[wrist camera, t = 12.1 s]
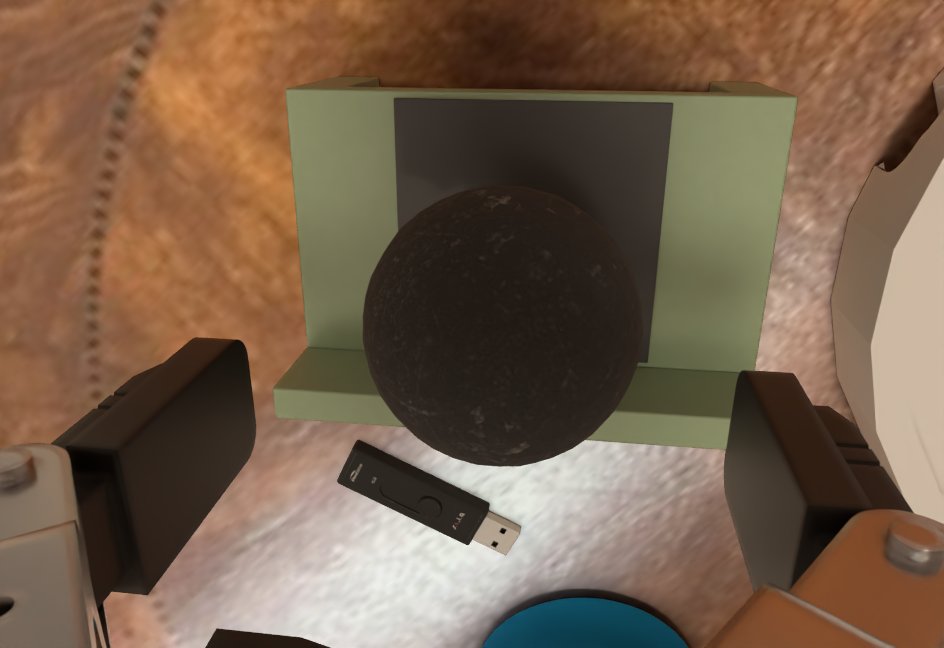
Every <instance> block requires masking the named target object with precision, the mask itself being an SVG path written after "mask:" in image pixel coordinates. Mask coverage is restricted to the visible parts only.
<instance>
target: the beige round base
mask: <svg viewBox="0 0 944 648" xmlns="http://www.w3.org/2000/svg"><path fill="white" fill-rule="evenodd" d="M933 87H934V93H935V98H936V104H937V110H938V115H939V116H938V117H937V119H936V120H935V121H934V122H933V124H932V125H931V126H930V127H929V129H928V130H927V131H926V132H925V133H924V134H923V135H922V136H921V137H920V139H919V140H918V142H917V143H916V144H915V146H914V147H913V149H912V150H911V152H910V153H909V154H908V155H907V157H906V158H905V159H904V161H903V162H902V163H901V164H900V165H899V166H898V167H897V168H895V169H894V170H892V171H891V172H886V171H885V166H884V162H883V163H882V164H880V165H879V166H874V168H873V169H872V171H871V173H870V175H869V177H868V179H867V181H866V183H865V185H864V187H863V189H862V191H861V193H860V195H859V197H858V199H857V201H856V203H855V205H854V207H853V209H852V211H851V213H850V215H849V217H848V222H847V227H846V231H845V236H844V241H843V245H842V250H841V255H840V259H839V264H838V269H837V273H836V278H835V283H834V287H833V292H832V297H831V310H832V322H833V334H834V345H835V357H836V369H837V378H838V380H839V382H840V385H841V387H842V389H843V392H844V394H845V396H846V399H847V401H848V403H849V406H850V408H851V411H852V413H853V415H854V418H855V420H856V422H857V425H858V427H859V429H860V432H861V434H862V436H863V437H864V439H865V440H866V442H867V443H868V445H869V449H872V451H873V452H874V454H875V455H876V457H877V458H878V460H879V461H880V465H881V466H883V467H884V469H885V470H886V472H887V473H888V475H889V476H890V478H891V479H892V481H893V482H894V484H895V485H896V487H897V488H898V490H899V491H900V493H901V494H902V496H903V497H904V499H905V500H906V502H907V503H908V505H909V506H910V508H911V509H912V511H913V512H914V513H915V514H918V515H922V516H925V517H928V518H930V519H933V520H936V521H938V522H940V523H942V524H944V69H943V70H942V71H941V72H940V74H939V75H938V76H937V77H936V78H935V80H934V81H933Z"/></svg>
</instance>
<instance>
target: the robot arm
mask: <svg viewBox="0 0 944 648" xmlns="http://www.w3.org/2000/svg"><path fill="white" fill-rule="evenodd" d="M255 437H256V419H255V411H254V403H253V394H252V386H251V378H250V370H249V361H248V354H247V350H246V347H245V345H244V344H243V342H242V341H240V340H233V339H215V338H198V337H196V338H193V339H192V340H190V341H189V342H188V343H187V344H186V345H184V346H183V347H182V348H181V349H180V350H178V351H177V352H176V353H175V354H174V355H172V356H171V357H170V358H169V359H168V360H166V361H165V362H164V363H162V364H160V365H158V366H155V367H153V368H151V369H149V370H147V371H144V372H142V373H140V374H138V375H136V376H133V377H132V378H131V379H130V380H129V381H127V382H126V383H125V384H124V385H122V386H121V387H120V388H119V389H117V390H116V391H115V392H114V396H112V395H110V396H109V397H108V398H106V399H105V400H104V401H103V402H101V403H100V404H99V405H98V409H93V410H92V411H90V412H89V413H88V414H87V415H85V416H84V417H83V418H82V419H81V420H79V421H78V422H77V423H76V424H74V425H73V426H72V427H71V428H69V429H68V430H67V431H66V432H65V433H63V434H62V435H61V436H60V437H58V438H57V439H56V440H55V441H53V442H52V443H51V444H45V443H29V444H21V445H15V446H10V447H6V448H2V449H0V648H112V643H111V637H110V631H109V625H108V619H107V615H106V611H105V606H104V602H103V601H104V600H105V599H106V598H107V597H108V595H109V594H110V593H111V592H122V593H131V594H141V595H148V594H149V593H150V591H151V590H152V589H153V587H154V586H155V585H156V583H157V582H158V581H159V579H160V578H161V577H162V575H163V574H164V573H165V571H166V570H167V569H168V567H169V566H170V565H171V563H172V562H173V561H174V559H175V558H176V556H177V555H178V554H179V552H180V551H181V550H182V548H183V547H184V546H185V544H186V543H187V542H188V540H189V539H190V538H191V536H192V535H193V534H194V532H195V531H196V530H197V528H198V527H199V526H200V524H201V523H202V521H203V520H204V519H205V517H206V516H207V515H208V513H209V512H210V511H211V509H212V508H213V507H214V505H215V504H216V503H217V501H218V500H219V499H220V497H221V496H222V495H223V493H224V492H225V491H226V489H227V488H228V487H229V485H230V484H231V482H232V481H233V480H234V478H235V477H236V476H237V474H238V473H239V472H240V470H241V469H242V468H243V466H244V465H245V464H246V462H247V461H248V459H249V458H250V456H251V453H252V451H253V447H254V443H255ZM724 488H725V495H726V500H727V503H728V506H729V510H730V513H731V516H732V520H733V523H734V526H735V530H736V533H737V536H738V540H739V543H740V546H741V550H742V553H743V556H744V560H745V563H746V566H747V570H748V573H749V576H750V580H751V583H752V586H753V590H754V594H753V595H752V596H751V597H750V598H749V599H748V601H747V602H746V603H745V604H744V605H743V606H742V607H741V608H740V609H739V610H738V612H737V613H736V614H735V615H734V616H733V617H732V618H731V619H730V620H729V621H728V622H727V624H726V625H725V626H724V627H723V628H722V629H721V630H720V631H719V632H718V633H717V635H716V636H715V637H714V638H713V639H712V640H711V641H710V642H709V643H708V644H707V645H706V647H705V648H944V524H942V523H940V522H938V521H936V520H933V519H930V518H928V517H925V516H922V515H918V514H915V513H914V512H913V511H912V509H911V508H910V506H909V505H908V503H907V502H906V500H905V499H904V497H903V496H902V494H901V493H900V491H899V490H898V488H897V487H896V485H895V484H894V482H893V481H892V479H891V478H890V476H889V475H888V473H887V472H886V470H885V469H884V467H883V466H880V461H879V460H878V458H877V457H876V455H875V454H874V452H873V451H872V449H869V445H868V443H867V442H866V440H865V439H864V437H863V436H862V434H861V433H860V431H859V430H858V428H857V427H856V425H855V424H853V423H852V422H850V421H849V420H848V419H846V418H845V417H843V416H842V415H840V414H839V413H838V412H836V411H835V410H833V409H832V408H830V407H829V406H813V405H812V403H811V402H810V400H809V398H808V397H807V395H806V393H805V391H804V390H803V388H802V386H801V385H800V383H799V381H798V380H797V378H796V376H795V375H794V374H793V373H783V372H766V371H748V370H742V371H741V372H740V374H739V376H738V379H737V383H736V388H735V395H734V401H733V408H732V414H731V421H730V427H729V434H728V440H727V447H726V454H725V461H724ZM206 648H330V647H327V646H324V645H321V644H318V643H316V642H313V641H310V640H307V639H304V638H300V637H291V636H282V635H272V634H263V633H254V632H244V631H235V630H225V629H216V631H215V632H214V634H213V636H212V637H211V639H210V641H209V642H208V644H207V646H206Z"/></svg>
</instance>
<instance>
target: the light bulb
mask: <svg viewBox="0 0 944 648" xmlns="http://www.w3.org/2000/svg"><path fill="white" fill-rule="evenodd" d="M642 338H643V319H642V309H641V299H640V293H639V290H638V287H637V284H636V280H635V277H634V274H633V271H632V269H631V267H630V264H629V262H628V261H627V259H626V258H625V256H624V255H623V253H622V252H621V250H620V248H619V247H618V245H617V243H616V242H615V240H614V239H613V238H612V237H611V235H610V234H609V233H608V232H607V231H606V230H605V229H604V228H603V227H602V226H601V225H600V224H599V223H598V222H597V221H596V220H595V219H593V218H592V217H591V216H590V215H589V214H588V213H587V212H585V211H584V210H582V209H580V208H579V207H577V206H576V205H574V204H572V203H570V202H568V201H567V200H565V199H563V198H561V197H560V196H558V195H555V194H551V193H548V192H544V191H540V190H537V189H533V188H529V187H526V186H507V185H488V186H484V187H479V188H473V189H469V190H466V191H462V192H458V193H456V194H453V195H451V196H448V197H446V198H444V199H441V200H439V201H438V202H435V203H434V204H432V205H431V206H429V207H427V208H426V209H424V210H422V211H421V212H419V213H418V214H417V215H416V216H415V217H413V218H412V219H411V220H410V221H409V222H407V223H406V224H405V225H404V226H403V227H402V228H401V229H399V231H398V232H397V234H396V235H395V237H394V238H393V239H392V241H391V242H390V244H389V245H388V247H387V248H386V250H385V251H384V253H383V255H382V256H381V258H380V260H379V262H378V264H377V266H376V268H375V270H374V272H373V274H372V275H371V278H370V281H369V285H368V288H367V292H366V296H365V302H364V309H363V344H364V349H365V354H366V358H367V362H368V366H369V370H370V374H371V376H372V379H373V381H374V383H375V385H376V387H377V390H378V392H379V394H380V396H381V398H382V399H383V400H384V402H385V403H386V405H387V406H388V407H389V409H390V410H391V412H392V413H393V414H394V416H395V417H396V418H397V419H398V420H399V421H400V422H401V423H402V424H403V425H404V426H405V427H406V428H407V429H408V430H410V431H411V432H412V433H413V434H414V435H415V436H416V437H417V438H418V439H420V440H421V441H423V442H424V443H426V444H427V445H429V446H430V447H431V448H433V449H435V450H437V451H440V452H442V453H444V454H446V455H448V456H450V457H452V458H455V459H459V460H462V461H466V462H469V463H473V464H477V465H488V466H499V467H500V466H522V465H527V464H531V463H536V462H539V461H543V460H546V459H550V458H553V457H555V456H557V455H559V454H561V453H564V452H566V451H568V450H570V449H572V448H574V447H575V446H577V445H578V444H580V443H581V442H582V441H584V440H585V439H587V438H588V437H590V436H591V435H592V434H594V432H595V431H596V430H597V429H598V428H599V427H600V426H601V425H602V424H603V423H604V422H605V421H606V420H607V419H608V418H609V417H610V415H611V414H612V413H613V412H614V411H615V409H616V408H617V407H618V405H619V403H620V401H621V400H622V398H623V396H624V394H625V393H626V391H627V389H628V387H629V385H630V383H631V381H632V379H633V376H634V373H635V370H636V367H637V364H638V361H639V359H640V354H641V346H642Z"/></svg>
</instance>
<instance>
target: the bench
mask: <svg viewBox="0 0 944 648" xmlns="http://www.w3.org/2000/svg"><path fill="white" fill-rule="evenodd" d="M286 102H287V114H288V126H289V137H290V149H291V161H292V172H293V184H294V196H295V207H296V219H297V231H298V242H299V254H300V266H301V277H302V289H303V301H304V312H305V324H306V336H307V347H308V348H306V349H305V351H304V352H303V353H302V354H301V355H300V357H299V358H298V359H297V360H296V361H295V363H294V364H293V365H292V366H291V367H290V369H289V370H288V371H287V372H286V373H285V375H284V376H283V377H282V378H281V379H280V381H279V382H278V383H277V384H276V385H275V386H274V388H273V395H274V405H275V414H276V417H277V418H285V419H299V420H313V421H327V422H341V423H355V424H369V425H383V426H397V427H405V426H404V425H403V424H402V423H401V422H400V421H399V420H398V419H397V418H396V417H395V416H394V414H393V413H392V412H391V410H390V409H389V407H388V406H387V405H386V403H385V402H384V400H383V399H382V398H381V396H380V394H379V392H378V390H377V387H376V385H375V383H374V381H373V379H372V376H371V374H370V370H369V366H368V362H367V358H366V354H365V349H364V344H363V309H364V302H365V296H366V292H367V288H368V285H369V281H370V278H371V275H372V274H373V272H374V270H375V268H376V266H377V264H378V262H379V260H380V258H381V256H382V255H383V253H384V251H385V250H386V248H387V247H388V245H389V244H390V242H391V241H392V239H393V238H394V237H395V235H396V234H397V232H398V231H399V229H401V228H402V227H403V226H404V225H405V224H406V223H407V222H409V221H410V220H411V219H412V218H413V217H415V216H416V215H417V214H418V213H419V212H421V211H422V210H424V209H426V208H427V207H429V206H431V205H432V204H434V203H435V202H438V201H439V200H441V199H444V198H446V197H448V196H451V195H453V194H456V193H458V192H462V191H466V190H469V189H473V188H479V187H484V186H488V185H507V186H526V187H529V188H533V189H537V190H540V191H544V192H548V193H551V194H555V195H558V196H560V197H561V198H563V199H565V200H567V201H568V202H570V203H572V204H574V205H576V206H577V207H579V208H580V209H582V210H584V211H585V212H587V213H588V214H589V215H590V216H591V217H592V218H593V219H595V220H596V221H597V222H598V223H599V224H600V225H601V226H602V227H603V228H604V229H605V230H606V231H607V232H608V233H609V234H610V235H611V237H612V238H613V239H614V240H615V242H616V243H617V245H618V247H619V248H620V250H621V252H622V253H623V255H624V256H625V258H626V259H627V261H628V262H629V264H630V267H631V269H632V271H633V274H634V277H635V280H636V284H637V287H638V290H639V293H640V299H641V309H642V319H643V338H642V346H641V354H640V359H639V361H638V364H637V367H636V370H635V373H634V376H633V379H632V381H631V383H630V385H629V387H628V389H627V391H626V393H625V394H624V396H623V398H622V400H621V401H620V403H619V405H618V407H617V408H616V409H615V411H614V412H613V413H612V414H611V415H610V417H609V418H608V419H607V420H606V421H605V422H604V423H603V424H602V425H601V426H600V427H599V428H598V429H597V430H596V431H595V432H594V434H592V435H591V436H590V437H588V438H587V439H585V440H594V441H608V442H622V443H636V444H650V445H664V446H678V447H692V448H706V449H720V450H726V447H727V440H728V434H729V427H730V421H731V414H732V408H733V401H734V395H735V388H736V383H737V379H738V376H739V374H740V372H741V371H742V370H748V371H755V366H756V359H757V353H758V347H759V340H760V334H761V328H762V322H763V315H764V309H765V303H766V296H767V290H768V284H769V278H770V271H771V265H772V259H773V253H774V246H775V240H776V234H777V227H778V221H779V215H780V209H781V202H782V196H783V190H784V183H785V177H786V171H787V165H788V158H789V152H790V146H791V140H792V133H793V127H794V121H795V114H796V108H797V102H798V97H796V96H793V95H791V94H788V93H785V92H782V91H779V90H776V89H774V88H771V87H768V86H765V85H763V84H760V83H757V82H711V83H710V90H709V92H664V91H598V90H532V89H465V88H399V87H379V78H378V77H341V76H338V77H334V78H330V79H325V80H321V81H317V82H313V83H308V84H304V85H300V86H296V87H292V88H288V89H286Z"/></svg>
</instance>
